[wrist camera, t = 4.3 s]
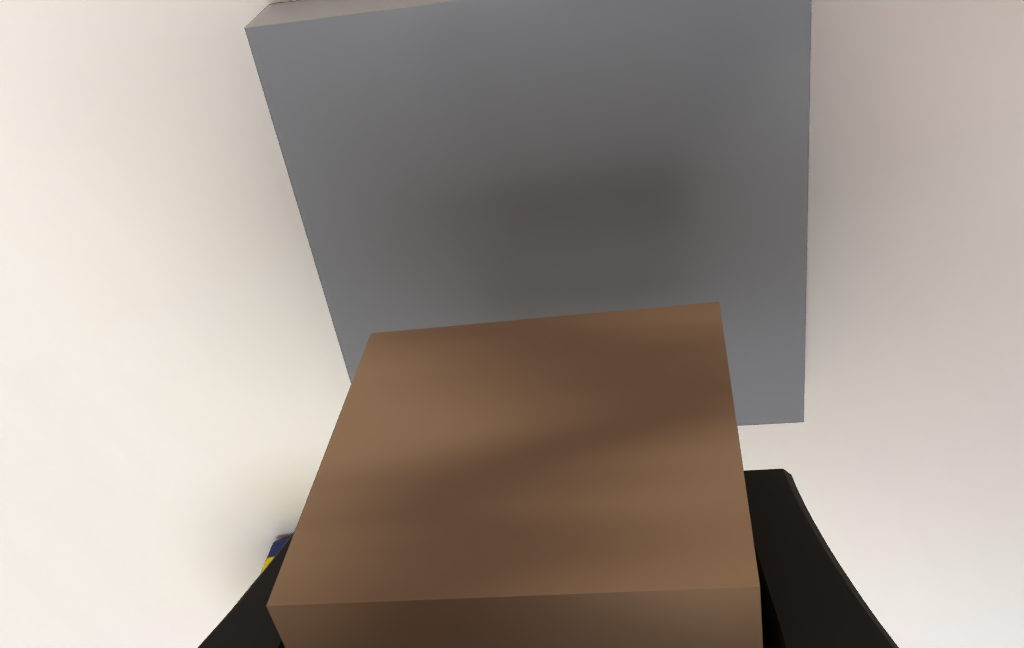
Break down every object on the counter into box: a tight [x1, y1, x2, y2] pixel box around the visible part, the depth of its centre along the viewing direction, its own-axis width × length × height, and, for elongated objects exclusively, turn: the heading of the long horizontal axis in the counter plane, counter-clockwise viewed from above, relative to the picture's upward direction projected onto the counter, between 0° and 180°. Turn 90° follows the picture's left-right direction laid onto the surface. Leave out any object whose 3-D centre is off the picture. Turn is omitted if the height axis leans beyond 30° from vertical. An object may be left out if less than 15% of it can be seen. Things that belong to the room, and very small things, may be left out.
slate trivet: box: [245, 0, 811, 426], centre depth 20 cm, size 10×10×2 cm
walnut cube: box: [266, 302, 763, 648], centre depth 13 cm, size 5×5×5 cm
